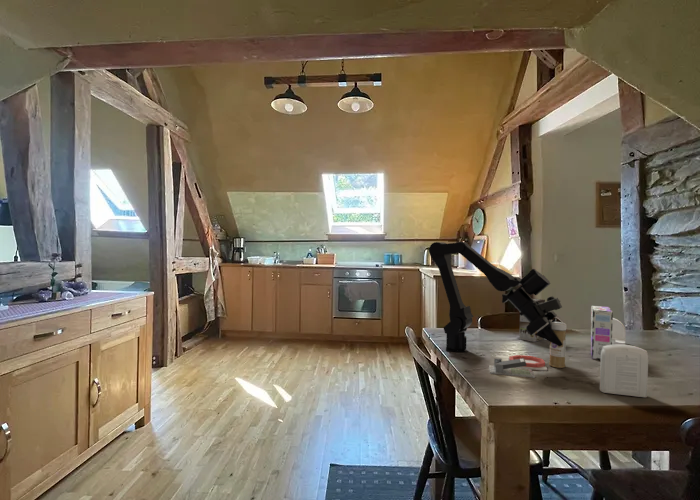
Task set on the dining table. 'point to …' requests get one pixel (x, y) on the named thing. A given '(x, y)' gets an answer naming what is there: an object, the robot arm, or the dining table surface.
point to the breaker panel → (509, 370)
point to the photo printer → (624, 370)
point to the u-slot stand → (618, 332)
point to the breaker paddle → (513, 363)
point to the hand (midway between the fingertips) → (562, 344)
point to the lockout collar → (530, 362)
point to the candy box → (600, 329)
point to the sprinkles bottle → (558, 351)
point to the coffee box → (524, 323)
